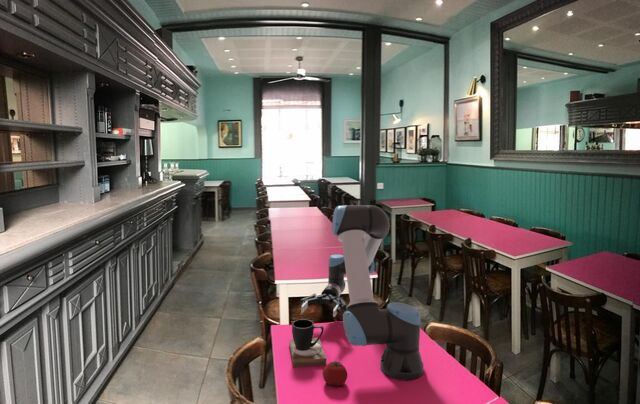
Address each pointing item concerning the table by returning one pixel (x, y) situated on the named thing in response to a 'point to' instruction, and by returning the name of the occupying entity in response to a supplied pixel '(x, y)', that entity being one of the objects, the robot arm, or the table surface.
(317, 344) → the wooden coaster block
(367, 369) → the table surface
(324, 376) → the tomato
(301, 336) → the mug
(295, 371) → the table surface
